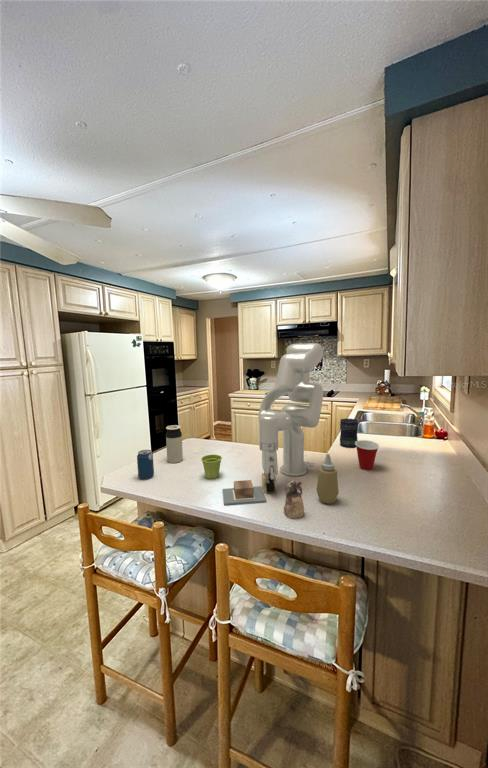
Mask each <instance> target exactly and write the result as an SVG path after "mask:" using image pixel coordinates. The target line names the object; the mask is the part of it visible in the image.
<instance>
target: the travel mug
mask: <svg viewBox="0 0 488 768" xmlns="http://www.w3.org/2000/svg"><path fill="white" fill-rule="evenodd" d="M181 428H182V426H181V425H177V424H174V425H173V424H172V425H167V426H166V427H165V429H166V433H165V439H166V440H165V442H166V443H165V444H166V445H165V446H166V462H168V463H171V464H176V463H180V462H182V461H183V460H184V457H183V434H182V433H183V432H182V431H181Z"/></svg>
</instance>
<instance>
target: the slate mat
mask: <svg viewBox="0 0 488 768" xmlns="http://www.w3.org/2000/svg"><path fill="white" fill-rule="evenodd" d="M253 488H254V498H243V499H235V494H234V487H231V488H222V499H223V505H224V506H235V505H251V504H261V503H263V504H264V503H267V499H266V495H265V493H264V491H263V489H262V485H259V486H257V485H256V486H253Z"/></svg>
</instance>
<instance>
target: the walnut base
mask: <svg viewBox="0 0 488 768" xmlns="http://www.w3.org/2000/svg"><path fill="white" fill-rule="evenodd" d="M253 487H254V485H253V482H252V479H249V480H248V479H247V480H246V479H245V480H234V481H233V488H234V494H235V499H243V498H254V488H253Z"/></svg>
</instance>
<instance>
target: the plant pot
mask: <svg viewBox="0 0 488 768" xmlns="http://www.w3.org/2000/svg"><path fill="white" fill-rule="evenodd" d="M222 459H223V457H222V455H219V454H206V455H204V456H202V457H201V458H200V461H202V465H203V471H204V475H205V478H206V479H208V480H209V479H210V480H214V479H216V478H217V479H218V478H219V477H220V470H221V469H220V468H221V462H222Z"/></svg>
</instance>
